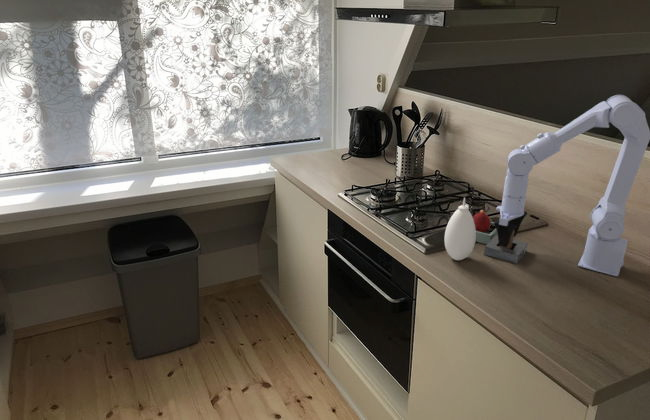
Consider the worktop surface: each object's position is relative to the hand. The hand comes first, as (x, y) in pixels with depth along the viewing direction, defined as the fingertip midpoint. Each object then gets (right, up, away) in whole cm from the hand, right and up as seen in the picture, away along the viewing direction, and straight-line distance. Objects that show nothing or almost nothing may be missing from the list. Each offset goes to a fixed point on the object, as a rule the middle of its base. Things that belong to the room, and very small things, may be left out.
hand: (507, 240), depth 141 cm
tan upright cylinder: (0, -4, +2) cm, 4 cm away
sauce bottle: (-14, -5, -2) cm, 15 cm away
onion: (-4, +1, +12) cm, 13 cm away
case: (-4, +1, +12) cm, 13 cm away
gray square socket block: (0, -4, +1) cm, 4 cm away
